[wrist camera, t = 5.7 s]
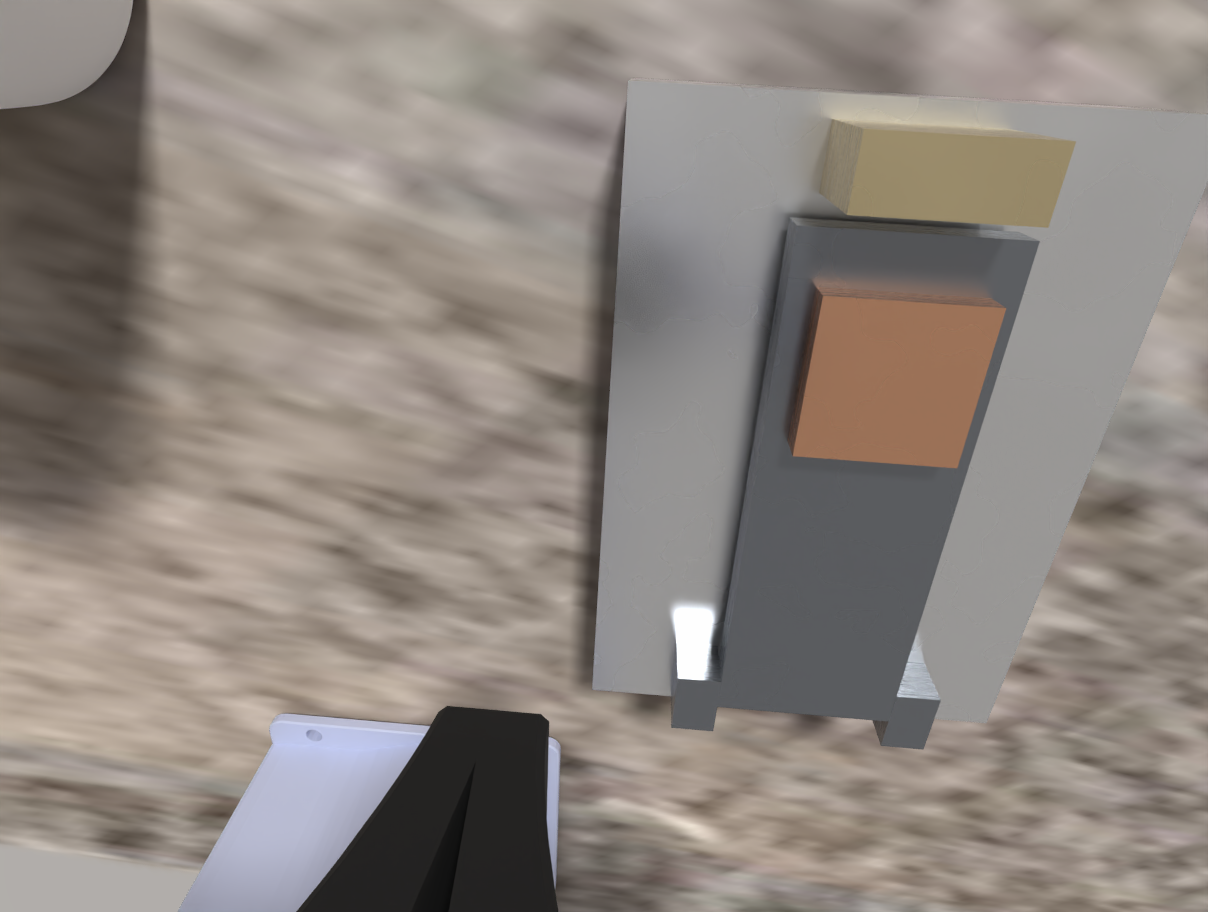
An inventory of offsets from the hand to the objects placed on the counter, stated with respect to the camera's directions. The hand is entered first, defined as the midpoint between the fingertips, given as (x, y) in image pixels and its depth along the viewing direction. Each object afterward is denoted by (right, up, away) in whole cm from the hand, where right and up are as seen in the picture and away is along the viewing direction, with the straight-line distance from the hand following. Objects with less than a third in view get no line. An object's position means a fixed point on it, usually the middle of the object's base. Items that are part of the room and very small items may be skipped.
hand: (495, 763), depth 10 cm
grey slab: (+6, +3, +6) cm, 9 cm away
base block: (+7, +5, +8) cm, 12 cm away
